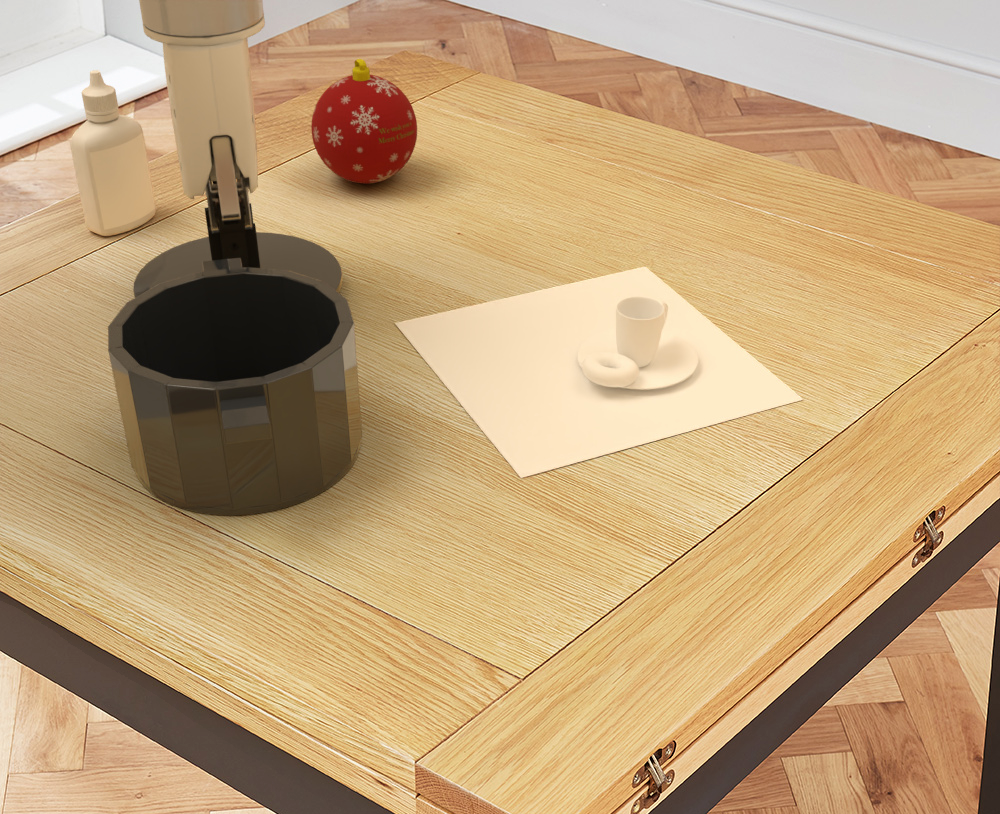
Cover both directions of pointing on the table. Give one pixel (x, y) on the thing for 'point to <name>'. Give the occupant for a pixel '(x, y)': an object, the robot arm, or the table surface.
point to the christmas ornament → (364, 127)
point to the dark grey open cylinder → (237, 388)
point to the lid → (272, 255)
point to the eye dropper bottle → (111, 164)
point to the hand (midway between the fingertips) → (236, 267)
